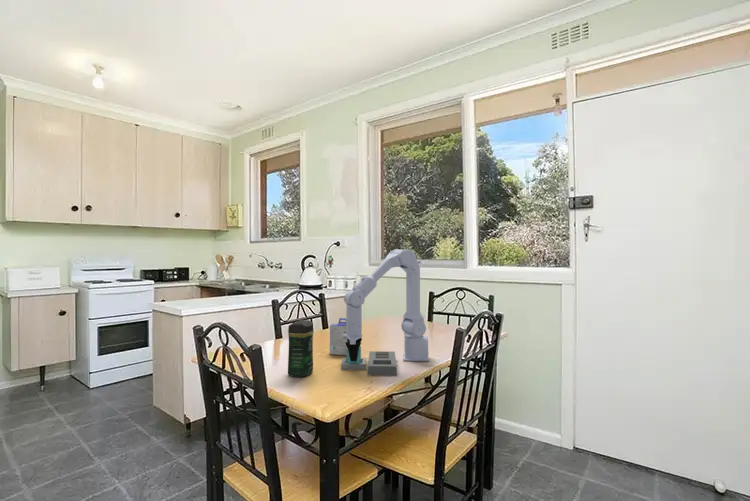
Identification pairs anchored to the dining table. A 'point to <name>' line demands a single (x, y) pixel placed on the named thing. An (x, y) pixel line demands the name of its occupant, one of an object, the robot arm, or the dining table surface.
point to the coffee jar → (300, 348)
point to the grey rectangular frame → (353, 365)
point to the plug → (357, 357)
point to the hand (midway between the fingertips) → (354, 359)
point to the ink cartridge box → (338, 338)
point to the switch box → (382, 363)
